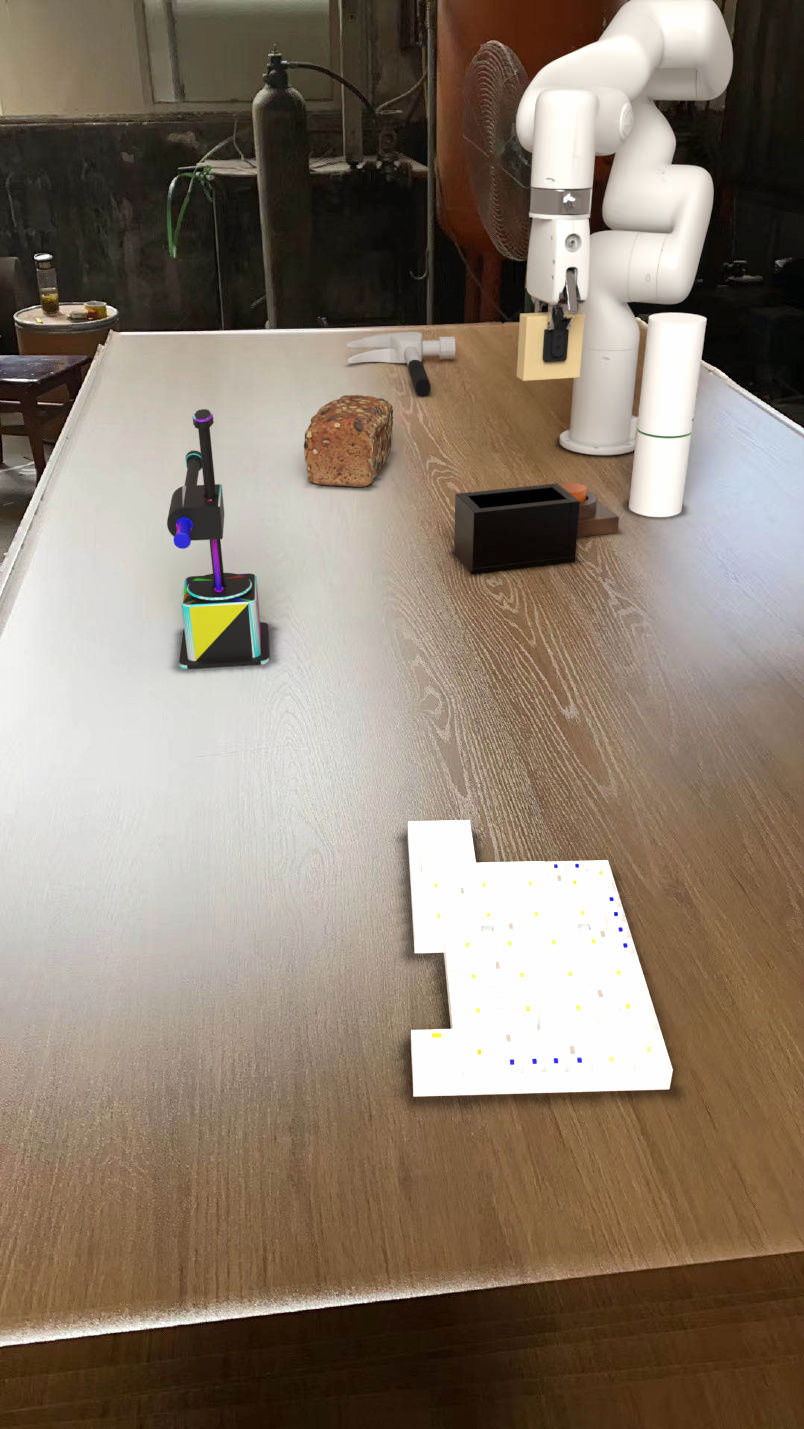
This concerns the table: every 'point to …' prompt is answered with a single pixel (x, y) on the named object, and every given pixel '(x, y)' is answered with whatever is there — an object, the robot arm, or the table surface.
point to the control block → (595, 518)
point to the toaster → (515, 528)
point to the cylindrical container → (666, 412)
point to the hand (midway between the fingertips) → (549, 357)
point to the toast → (532, 349)
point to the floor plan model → (528, 975)
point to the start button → (576, 490)
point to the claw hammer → (404, 353)
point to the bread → (348, 441)
